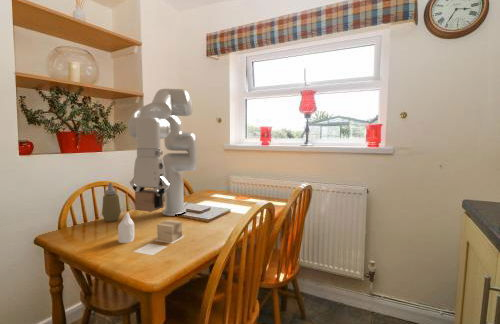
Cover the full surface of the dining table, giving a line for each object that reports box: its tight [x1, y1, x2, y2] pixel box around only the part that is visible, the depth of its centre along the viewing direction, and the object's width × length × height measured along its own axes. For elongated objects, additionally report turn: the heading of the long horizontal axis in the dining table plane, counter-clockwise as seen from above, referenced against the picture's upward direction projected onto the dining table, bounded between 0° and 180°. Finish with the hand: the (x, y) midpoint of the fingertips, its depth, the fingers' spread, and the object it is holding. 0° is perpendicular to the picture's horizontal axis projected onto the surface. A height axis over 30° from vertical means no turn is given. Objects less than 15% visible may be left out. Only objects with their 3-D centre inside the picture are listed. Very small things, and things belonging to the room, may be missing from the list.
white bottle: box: [117, 212, 135, 244], centre depth 105 cm, size 6×12×6 cm
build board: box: [133, 235, 185, 257], centre depth 103 cm, size 22×14×1 cm, turn 160°
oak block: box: [156, 219, 183, 243], centre depth 107 cm, size 6×6×6 cm
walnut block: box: [134, 188, 165, 213], centre depth 96 cm, size 6×6×6 cm
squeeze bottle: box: [101, 182, 122, 223], centre depth 133 cm, size 8×8×18 cm
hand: (149, 205), depth 96 cm, fingers closed on walnut block, 6 cm apart
